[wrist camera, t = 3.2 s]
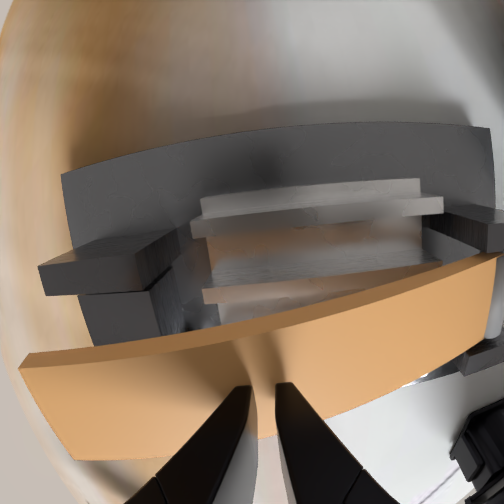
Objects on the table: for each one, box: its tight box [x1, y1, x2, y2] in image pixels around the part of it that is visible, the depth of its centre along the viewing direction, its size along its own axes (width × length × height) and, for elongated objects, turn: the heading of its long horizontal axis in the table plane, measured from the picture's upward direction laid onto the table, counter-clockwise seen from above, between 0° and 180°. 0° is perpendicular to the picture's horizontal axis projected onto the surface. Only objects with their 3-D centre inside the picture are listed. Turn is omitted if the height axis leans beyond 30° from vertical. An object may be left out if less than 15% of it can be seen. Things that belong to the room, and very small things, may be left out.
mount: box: [38, 122, 504, 387], centre depth 12 cm, size 22×14×6 cm, turn 97°
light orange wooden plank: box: [18, 251, 504, 460], centre depth 8 cm, size 17×4×2 cm, turn 97°
